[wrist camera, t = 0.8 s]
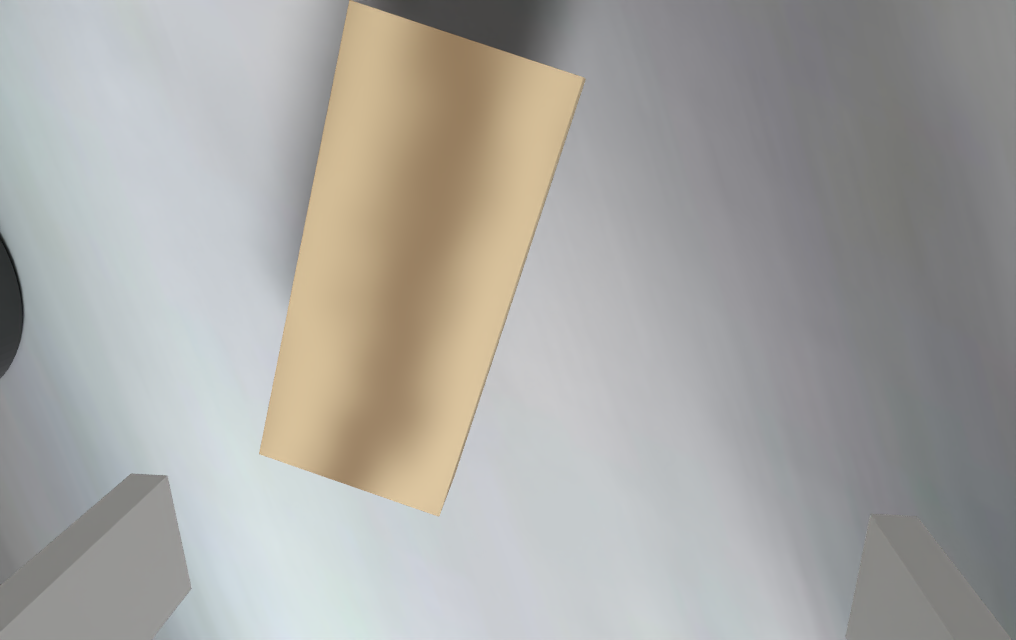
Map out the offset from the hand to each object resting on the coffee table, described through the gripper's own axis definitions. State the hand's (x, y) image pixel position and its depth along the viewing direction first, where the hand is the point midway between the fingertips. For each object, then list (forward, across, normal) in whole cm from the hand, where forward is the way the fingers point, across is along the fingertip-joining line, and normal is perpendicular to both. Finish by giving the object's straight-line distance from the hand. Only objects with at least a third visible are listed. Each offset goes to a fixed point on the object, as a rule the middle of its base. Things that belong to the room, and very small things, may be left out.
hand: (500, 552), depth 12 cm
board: (+16, -5, +1) cm, 16 cm away
